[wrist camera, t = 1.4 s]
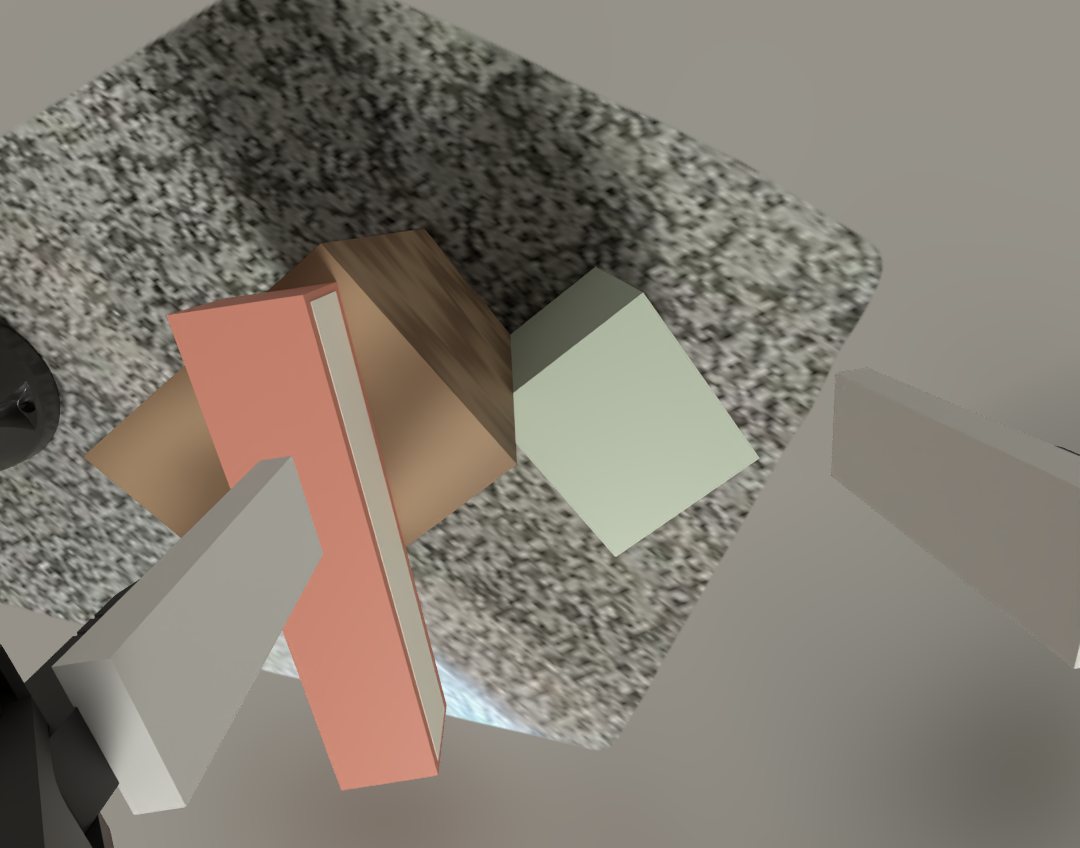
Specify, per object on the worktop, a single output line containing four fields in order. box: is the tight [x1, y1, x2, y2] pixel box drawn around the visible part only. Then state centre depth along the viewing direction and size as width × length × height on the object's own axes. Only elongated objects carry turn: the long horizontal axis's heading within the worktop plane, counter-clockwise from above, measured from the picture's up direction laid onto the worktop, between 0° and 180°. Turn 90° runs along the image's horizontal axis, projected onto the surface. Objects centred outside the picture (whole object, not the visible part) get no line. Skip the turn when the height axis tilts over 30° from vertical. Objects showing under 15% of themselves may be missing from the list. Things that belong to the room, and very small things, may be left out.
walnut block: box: [83, 229, 517, 547], centre depth 39 cm, size 12×14×30 cm
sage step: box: [510, 267, 759, 557], centre depth 46 cm, size 14×12×19 cm
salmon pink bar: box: [167, 282, 446, 790], centre depth 24 cm, size 22×4×4 cm, turn 8°
